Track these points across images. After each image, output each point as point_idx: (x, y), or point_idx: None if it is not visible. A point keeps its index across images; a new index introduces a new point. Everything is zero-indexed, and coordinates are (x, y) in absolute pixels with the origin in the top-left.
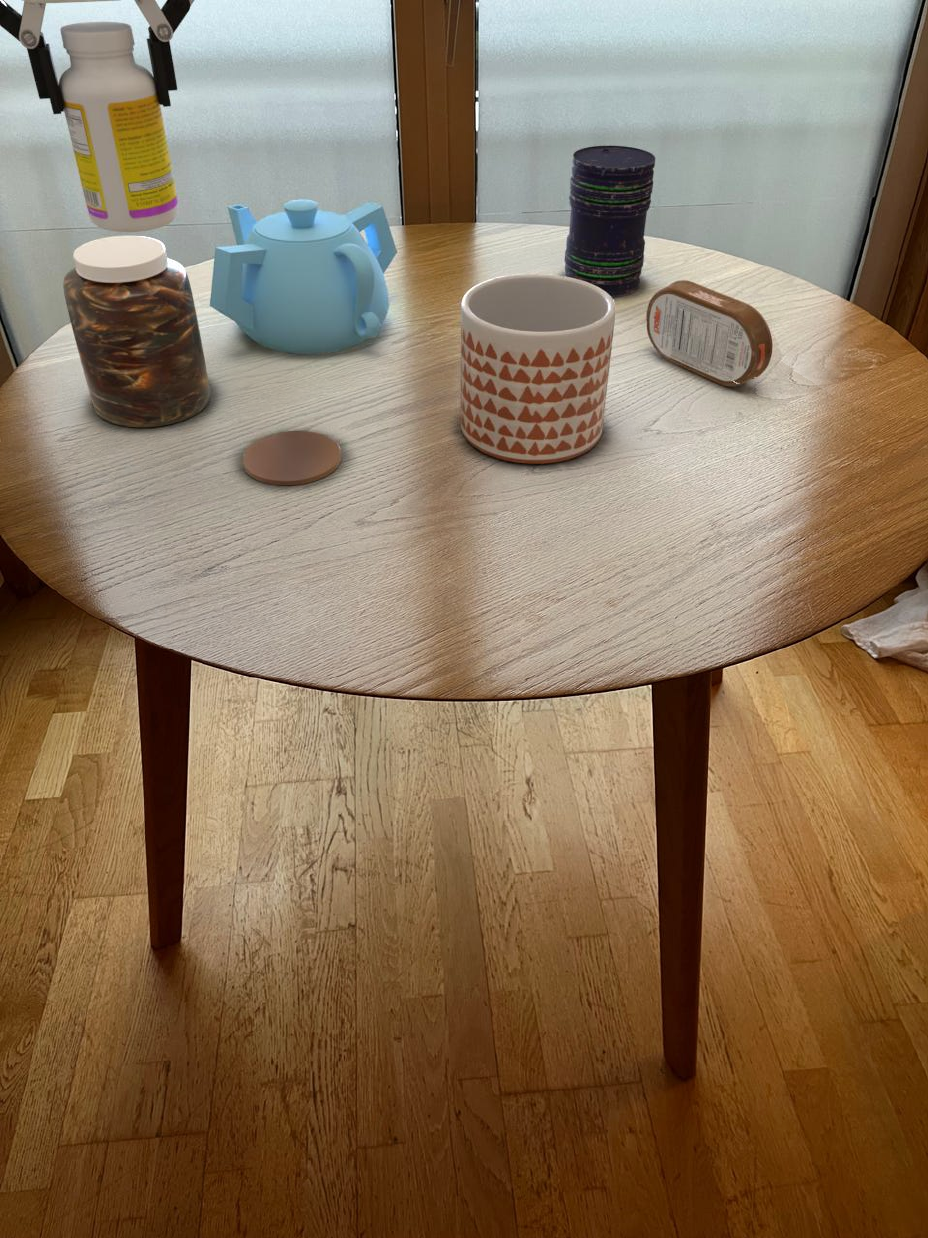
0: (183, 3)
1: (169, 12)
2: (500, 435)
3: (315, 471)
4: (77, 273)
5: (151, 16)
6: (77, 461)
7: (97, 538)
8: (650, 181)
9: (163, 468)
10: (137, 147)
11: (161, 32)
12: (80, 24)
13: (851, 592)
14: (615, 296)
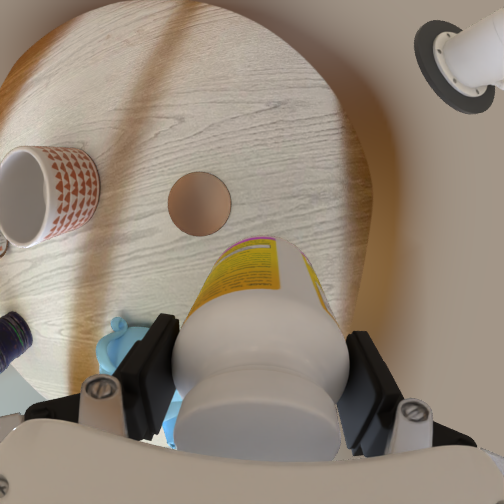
0: (36, 412)
1: (71, 415)
2: (83, 158)
3: (189, 178)
4: None
5: (107, 415)
6: (328, 257)
7: (331, 163)
8: None
9: (280, 226)
10: (243, 264)
11: (107, 389)
12: None
13: (42, 40)
14: (15, 312)
